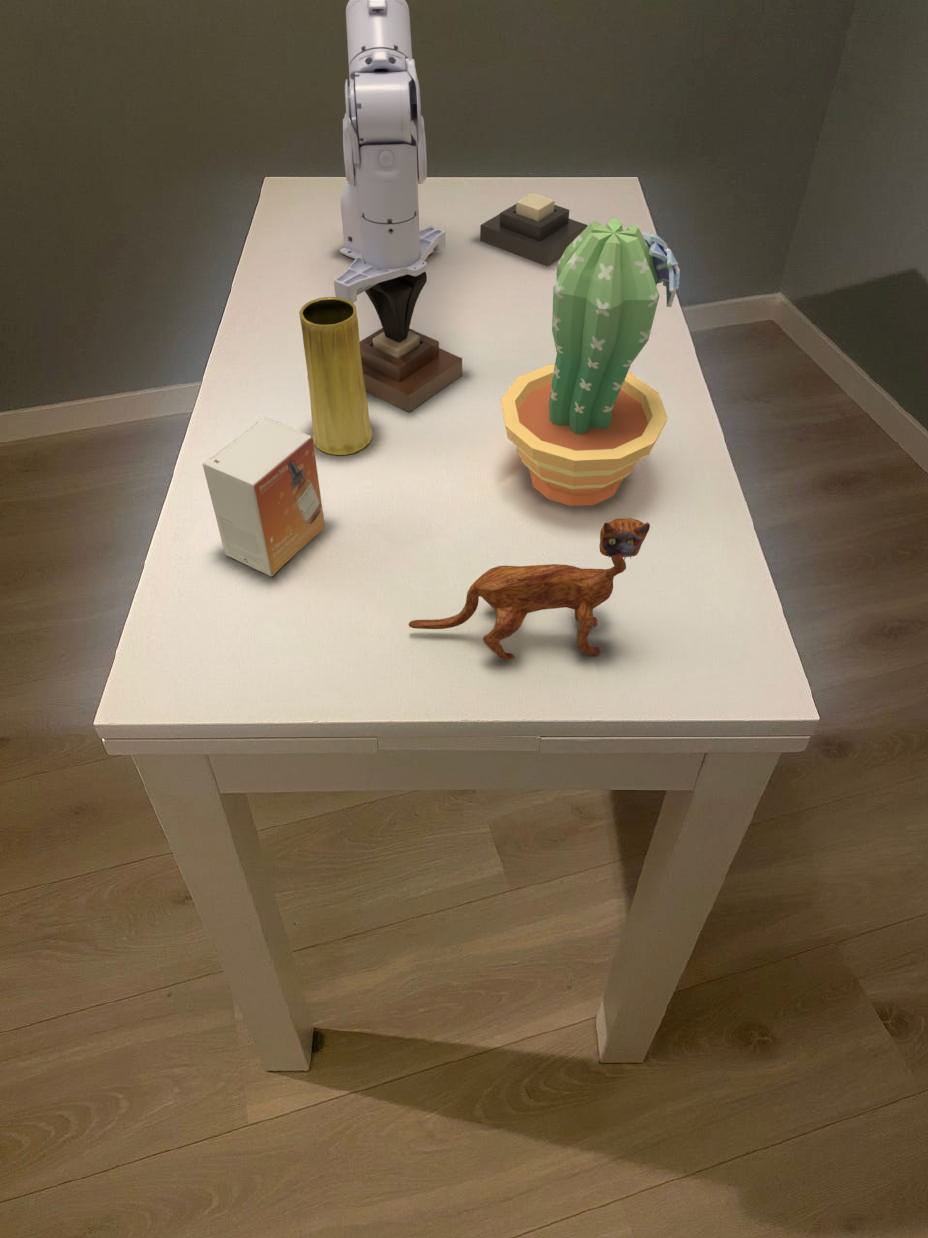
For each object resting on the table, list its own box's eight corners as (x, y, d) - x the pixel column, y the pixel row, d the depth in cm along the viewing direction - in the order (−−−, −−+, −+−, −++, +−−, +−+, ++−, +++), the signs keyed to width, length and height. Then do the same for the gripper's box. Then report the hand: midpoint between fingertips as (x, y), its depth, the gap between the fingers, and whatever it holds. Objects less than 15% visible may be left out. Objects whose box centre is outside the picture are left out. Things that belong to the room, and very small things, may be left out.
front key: (373, 352, 101) (372, 338, 100) (395, 338, 103) (394, 324, 101) (398, 364, 99) (397, 350, 98) (420, 350, 101) (419, 335, 100)
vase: (383, 428, 97) (373, 302, 86) (354, 462, 93) (340, 334, 82) (332, 414, 98) (316, 288, 88) (301, 446, 95) (281, 319, 84)
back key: (515, 215, 122) (516, 201, 120) (531, 205, 124) (532, 192, 122) (537, 223, 120) (538, 209, 119) (553, 213, 122) (555, 199, 121)
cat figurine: (406, 664, 76) (398, 541, 66) (411, 605, 80) (404, 481, 70) (628, 668, 76) (655, 545, 65) (620, 608, 80) (644, 484, 70)
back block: (479, 240, 124) (480, 211, 121) (520, 217, 129) (521, 187, 126) (547, 266, 120) (549, 236, 117) (586, 240, 125) (589, 211, 122)
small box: (271, 579, 82) (252, 487, 74) (223, 555, 84) (199, 463, 76) (327, 527, 87) (314, 435, 79) (280, 505, 89) (263, 413, 81)
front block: (334, 375, 103) (330, 343, 100) (388, 341, 108) (386, 309, 105) (409, 413, 99) (407, 380, 96) (462, 375, 103) (462, 343, 100)
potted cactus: (650, 538, 86) (703, 285, 67) (484, 518, 88) (491, 265, 69) (657, 437, 96) (705, 192, 77) (509, 420, 98) (521, 177, 79)
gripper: (368, 251, 84) (378, 380, 94) (468, 196, 92) (467, 321, 102) (312, 228, 87) (327, 356, 97) (414, 176, 95) (418, 300, 105)
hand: (396, 336), depth 100 cm, fingers closed, pressing on front key
